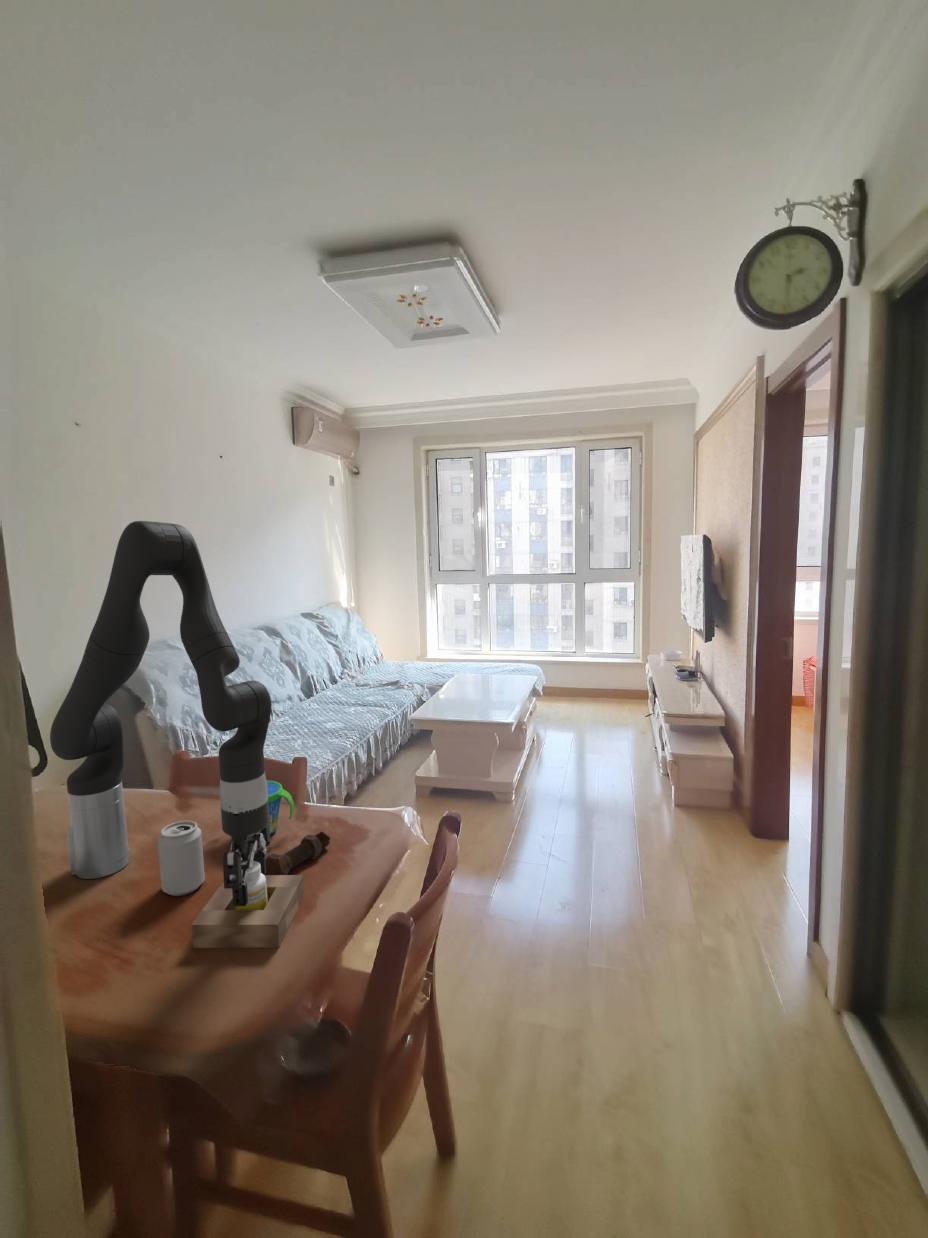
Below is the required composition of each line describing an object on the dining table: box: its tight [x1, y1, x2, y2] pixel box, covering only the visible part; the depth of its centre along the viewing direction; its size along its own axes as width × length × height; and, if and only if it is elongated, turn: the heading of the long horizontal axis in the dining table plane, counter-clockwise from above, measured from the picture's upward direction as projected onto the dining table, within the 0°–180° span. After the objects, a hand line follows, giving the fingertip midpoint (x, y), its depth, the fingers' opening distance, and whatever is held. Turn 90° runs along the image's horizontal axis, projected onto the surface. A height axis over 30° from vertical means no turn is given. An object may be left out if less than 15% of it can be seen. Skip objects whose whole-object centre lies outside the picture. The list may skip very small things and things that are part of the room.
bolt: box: [265, 831, 331, 875], centre depth 118 cm, size 6×5×15 cm
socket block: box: [190, 874, 305, 949], centre depth 100 cm, size 14×14×4 cm
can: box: [157, 820, 206, 897], centre depth 110 cm, size 8×8×12 cm
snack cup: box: [263, 780, 295, 839], centre depth 131 cm, size 16×10×10 cm
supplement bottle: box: [234, 861, 268, 910], centre depth 100 cm, size 5×5×10 cm
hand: (250, 889), depth 100 cm, fingers open, 8 cm apart
